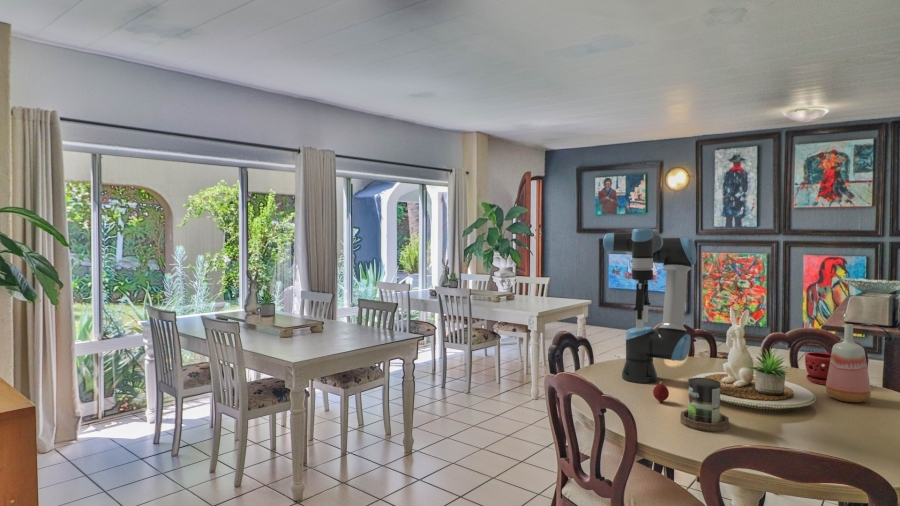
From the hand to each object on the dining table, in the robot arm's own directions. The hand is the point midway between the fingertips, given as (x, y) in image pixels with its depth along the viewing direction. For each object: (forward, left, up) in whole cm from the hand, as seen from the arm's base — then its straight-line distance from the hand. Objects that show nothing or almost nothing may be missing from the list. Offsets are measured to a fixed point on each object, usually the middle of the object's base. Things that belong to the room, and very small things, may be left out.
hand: (642, 324), depth 213 cm
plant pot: (-65, +67, -32) cm, 99 cm away
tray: (+10, +22, -32) cm, 40 cm away
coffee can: (+10, +22, -31) cm, 39 cm away
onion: (-9, +6, -32) cm, 34 cm away
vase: (-41, +72, -32) cm, 89 cm away
